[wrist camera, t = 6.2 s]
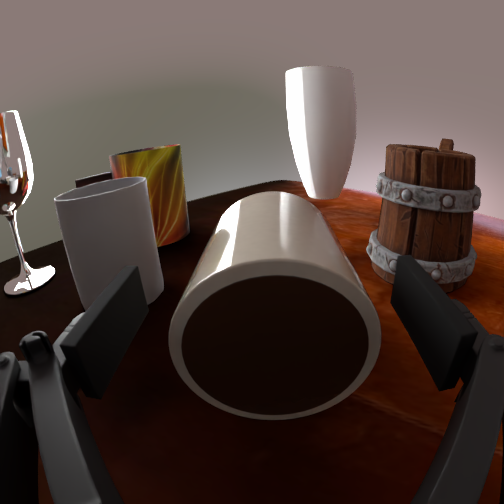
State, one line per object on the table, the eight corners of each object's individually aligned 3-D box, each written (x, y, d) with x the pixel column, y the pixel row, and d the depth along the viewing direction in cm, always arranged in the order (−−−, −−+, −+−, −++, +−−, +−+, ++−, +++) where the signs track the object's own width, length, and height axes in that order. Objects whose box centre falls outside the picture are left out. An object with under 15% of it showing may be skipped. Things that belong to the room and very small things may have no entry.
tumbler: (215, 305, 24) (207, 191, 21) (329, 305, 24) (339, 192, 20) (184, 416, 14) (150, 258, 11) (358, 417, 14) (403, 260, 10)
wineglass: (61, 263, 35) (34, 110, 27) (47, 290, 28) (11, 105, 20) (15, 273, 33) (-15, 128, 25) (-5, 300, 26) (-44, 128, 18)
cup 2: (366, 211, 47) (365, 75, 38) (340, 230, 39) (337, 62, 31) (310, 203, 53) (305, 78, 44) (275, 218, 46) (267, 70, 37)
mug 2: (337, 273, 28) (353, 107, 23) (391, 251, 37) (405, 135, 33) (457, 314, 20) (486, 117, 15) (474, 275, 29) (492, 148, 25)
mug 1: (86, 252, 38) (69, 165, 33) (160, 221, 48) (150, 147, 44) (123, 266, 33) (104, 160, 28) (204, 228, 43) (195, 142, 38)
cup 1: (179, 293, 27) (161, 179, 23) (93, 327, 22) (58, 206, 18) (144, 265, 33) (128, 175, 29) (76, 289, 28) (51, 195, 24)
